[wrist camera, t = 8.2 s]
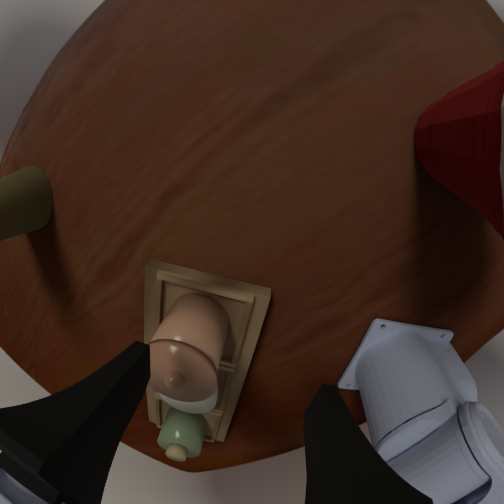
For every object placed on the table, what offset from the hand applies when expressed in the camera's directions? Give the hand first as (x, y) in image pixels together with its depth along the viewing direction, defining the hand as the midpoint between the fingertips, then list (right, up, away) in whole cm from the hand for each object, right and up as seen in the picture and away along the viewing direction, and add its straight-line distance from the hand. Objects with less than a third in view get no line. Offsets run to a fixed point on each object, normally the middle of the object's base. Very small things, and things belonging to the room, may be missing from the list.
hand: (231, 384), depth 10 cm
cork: (-19, +10, +9) cm, 23 cm away
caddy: (-4, -6, +13) cm, 15 cm away
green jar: (-6, -12, +15) cm, 20 cm away
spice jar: (-3, 0, +10) cm, 10 cm away
